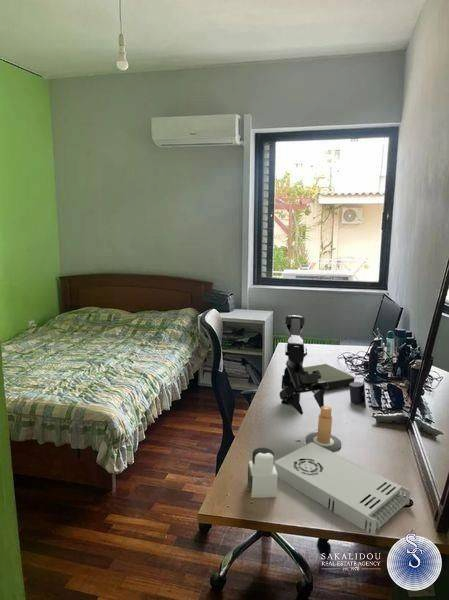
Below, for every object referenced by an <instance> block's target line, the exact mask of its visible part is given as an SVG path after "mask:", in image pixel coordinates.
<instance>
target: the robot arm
mask: <svg viewBox="0 0 449 600" xmlns="http://www.w3.org/2000/svg"><path fill="white" fill-rule="evenodd" d="M284 320H285V321H284V326H286V333H287V334H288V336H289V338H288V339H287V342H286V343H287V344H285V350H284V352H285V353H284V355H285V356H286V357H287V360H286V363H285V365H286V367H284V370H283V371H284V372H283V374H282V376H281V390H280V392H279V393H278V394H279V398H280V400H281V404H285V405H290V406H291V407H293V408H294V409H295V410H296V411H297V412H298V414H300V415H301V416H302V415H304V412H303V408H302V405H301V403H300V402H301V394H302V393H310V392H312V393H313V398H314V400H315V401H316V403H317V405H318V406H319V408H320V410H321V407H322V406H325V403H324V402H325V400H324V397H325V392H326V391H328V390H327V388H328V387H329V386H328V383H327V382H326V381H320V382H318V379H321V374H320V372H319V370H317V371H313V372H312V374H308V372H307V371H305V370H304V368H303V367H304V366H303V364H304V359H305V358H306V356H308V349H307V347H306V345H305V344H304V343H305V342H304V339H303V338H302V337H301V334H302V332H303V328H304V327H305V321H306V319H305V317H303V316H301V315H297V314H296V315H295V314H294V315H293V314H291V315H287V316H285V318H284ZM313 382H317V383H316V384H314V385H313V386H311V385H312V384H313Z"/></svg>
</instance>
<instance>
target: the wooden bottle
mask: <svg viewBox="0 0 449 600" xmlns="http://www.w3.org/2000/svg"><path fill="white" fill-rule="evenodd" d="M332 411H333V410H332V407H330V406H326V405H324V406H322V407H321V409H320V413H319V414H318V422H317V432H318V433H317V432H316V433H317V441H318V442H319V443H322V444H328V443H330V438H331V435H332V424H333V415H332Z"/></svg>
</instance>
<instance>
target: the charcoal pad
mask: <svg viewBox="0 0 449 600" xmlns="http://www.w3.org/2000/svg"><path fill="white" fill-rule="evenodd" d="M317 433H318V431H317V432H311V433H309V434H308V435H306V436H305V442H306V445H307V444H309V443H311V442H313V443H315V444H317V445H319V446H321V447H323V448H325V449H327V450H329V451H331V452H336V451H338V450H340V449H341V448H342V441H341V440H340V439H339V438H338V437H337V436H335V435H333V434H331V438H330V443H328V444H322V443H319V442H318V441H317Z"/></svg>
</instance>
